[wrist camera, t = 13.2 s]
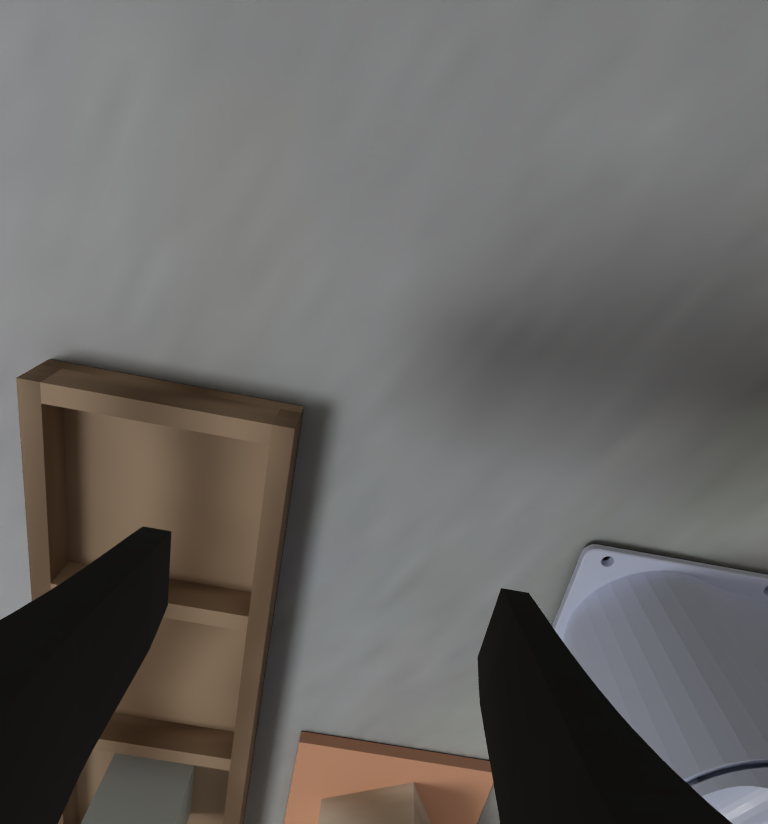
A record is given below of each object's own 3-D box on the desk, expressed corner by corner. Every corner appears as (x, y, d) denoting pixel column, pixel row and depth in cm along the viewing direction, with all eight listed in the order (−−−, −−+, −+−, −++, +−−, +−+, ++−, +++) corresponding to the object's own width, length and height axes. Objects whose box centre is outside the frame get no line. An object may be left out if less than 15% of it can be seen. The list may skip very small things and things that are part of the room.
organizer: (303, 406, 22) (294, 428, 20) (240, 840, 33) (231, 880, 31) (48, 359, 22) (16, 378, 20) (69, 815, 33) (49, 854, 31)
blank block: (194, 764, 30) (165, 849, 26) (190, 813, 31) (162, 900, 28) (115, 751, 30) (74, 835, 26) (115, 802, 31) (76, 888, 27)
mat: (495, 761, 30) (497, 773, 29) (450, 876, 34) (450, 888, 33) (301, 731, 29) (299, 742, 29) (278, 850, 33) (276, 862, 33)
